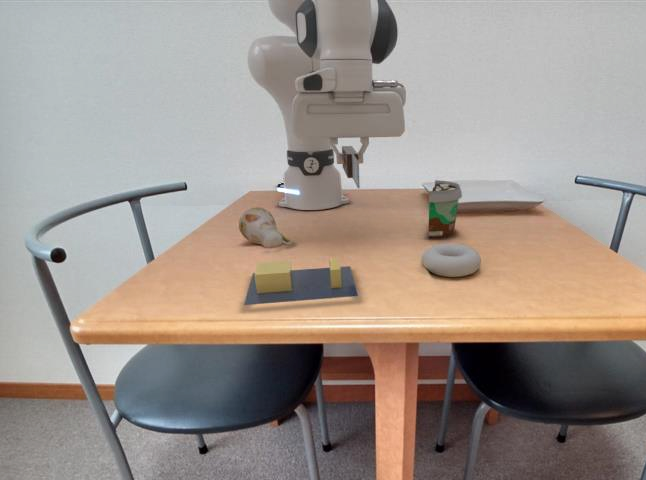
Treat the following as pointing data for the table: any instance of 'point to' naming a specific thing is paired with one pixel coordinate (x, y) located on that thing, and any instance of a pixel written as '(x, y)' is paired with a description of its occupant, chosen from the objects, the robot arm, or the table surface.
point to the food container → (443, 209)
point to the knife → (351, 164)
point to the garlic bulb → (261, 228)
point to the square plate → (492, 196)
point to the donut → (451, 260)
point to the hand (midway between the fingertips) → (349, 163)
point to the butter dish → (296, 284)
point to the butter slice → (335, 273)
